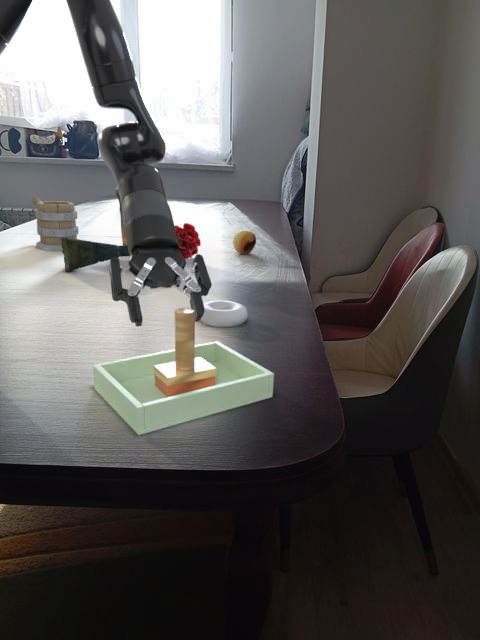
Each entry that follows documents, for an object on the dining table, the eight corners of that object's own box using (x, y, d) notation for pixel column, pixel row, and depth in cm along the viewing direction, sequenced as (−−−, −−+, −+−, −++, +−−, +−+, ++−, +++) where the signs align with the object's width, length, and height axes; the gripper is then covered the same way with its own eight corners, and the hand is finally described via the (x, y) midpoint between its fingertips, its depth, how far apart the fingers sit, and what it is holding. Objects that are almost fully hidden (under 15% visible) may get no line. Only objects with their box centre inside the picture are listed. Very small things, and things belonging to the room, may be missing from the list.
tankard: (88, 248, 165) (84, 200, 160) (50, 252, 156) (45, 201, 151) (56, 240, 177) (52, 194, 172) (20, 243, 168) (14, 195, 163)
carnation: (69, 301, 136) (198, 288, 147) (63, 267, 119) (209, 256, 131) (62, 249, 140) (187, 241, 152) (55, 209, 124) (197, 203, 135)
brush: (167, 398, 67) (166, 318, 63) (153, 385, 71) (151, 308, 67) (216, 388, 71) (217, 311, 67) (200, 375, 75) (201, 302, 71)
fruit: (256, 253, 174) (257, 229, 171) (253, 257, 166) (255, 232, 163) (234, 251, 174) (235, 227, 171) (230, 256, 166) (231, 231, 164)
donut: (251, 330, 98) (242, 313, 107) (252, 312, 97) (243, 297, 106) (199, 331, 96) (194, 314, 105) (199, 313, 95) (194, 298, 104)
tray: (138, 437, 59) (137, 408, 58) (94, 390, 70) (92, 364, 69) (272, 398, 71) (274, 373, 69) (216, 363, 81) (217, 340, 80)
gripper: (102, 212, 72) (120, 312, 67) (199, 212, 78) (223, 305, 73) (100, 243, 79) (116, 337, 73) (189, 241, 85) (211, 329, 79)
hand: (169, 321), depth 73 cm, fingers open, 8 cm apart
